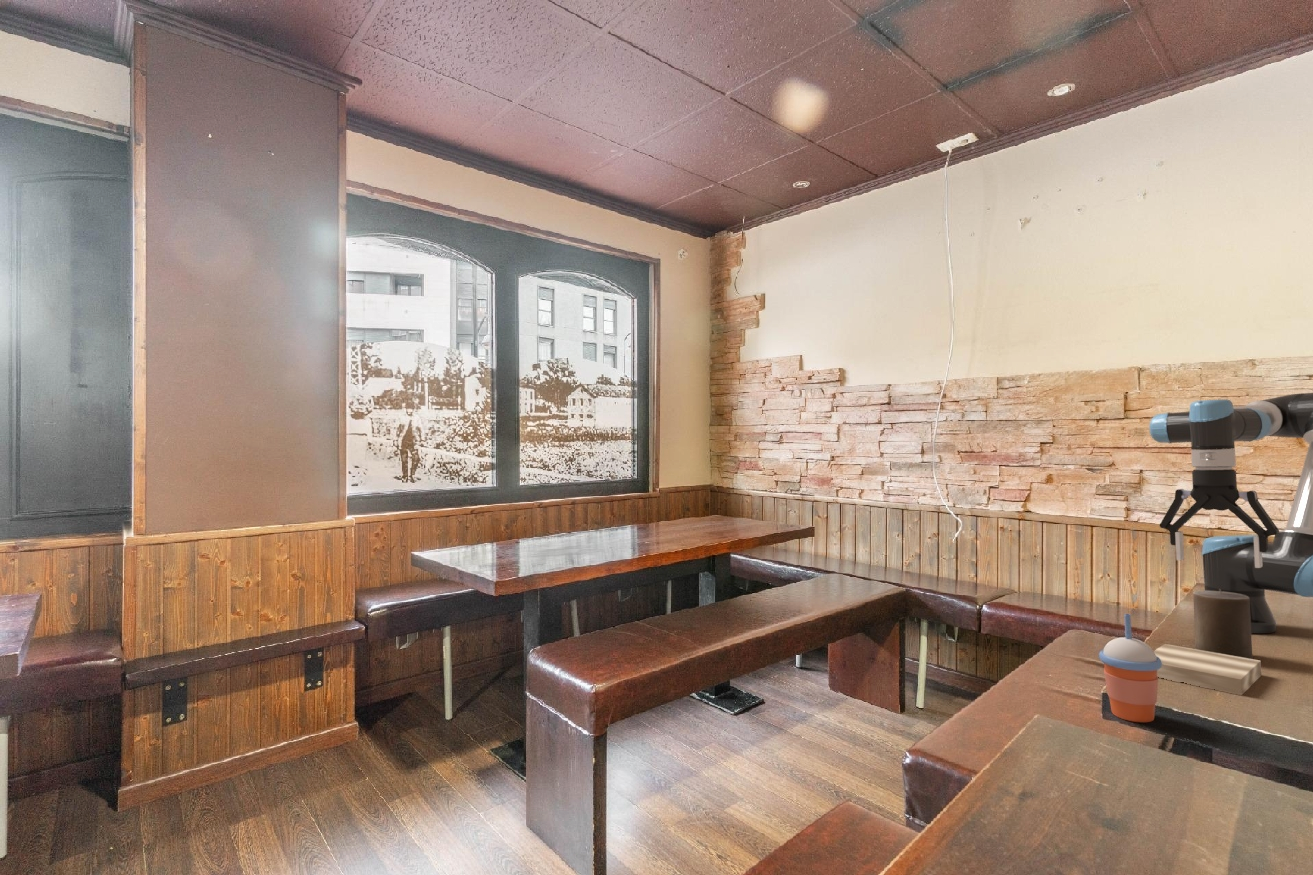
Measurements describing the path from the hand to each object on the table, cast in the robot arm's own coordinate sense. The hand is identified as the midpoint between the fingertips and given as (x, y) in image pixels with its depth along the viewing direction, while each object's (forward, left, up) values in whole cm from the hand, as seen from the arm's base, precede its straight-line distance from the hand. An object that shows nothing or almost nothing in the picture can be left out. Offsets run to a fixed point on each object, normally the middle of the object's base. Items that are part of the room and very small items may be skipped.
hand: (1218, 563), depth 146 cm
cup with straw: (+51, -2, -21) cm, 55 cm away
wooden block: (+18, 0, -21) cm, 27 cm away
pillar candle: (0, 0, -21) cm, 21 cm away
